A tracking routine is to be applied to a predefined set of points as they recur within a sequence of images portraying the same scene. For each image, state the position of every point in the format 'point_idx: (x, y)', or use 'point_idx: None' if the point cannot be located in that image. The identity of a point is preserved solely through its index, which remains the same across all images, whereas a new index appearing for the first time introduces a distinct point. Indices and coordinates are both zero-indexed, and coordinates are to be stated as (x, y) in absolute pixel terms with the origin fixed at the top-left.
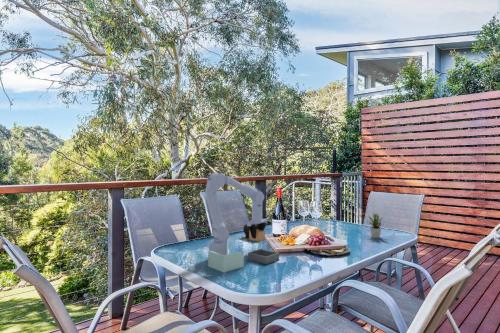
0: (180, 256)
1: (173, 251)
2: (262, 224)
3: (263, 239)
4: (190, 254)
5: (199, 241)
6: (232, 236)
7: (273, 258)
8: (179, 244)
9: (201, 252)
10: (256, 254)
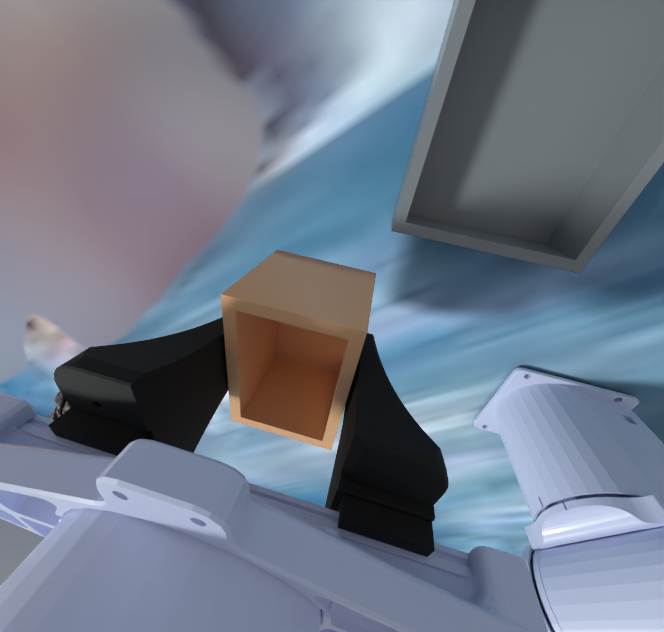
0: None
1: (483, 543)
2: (149, 409)
3: (298, 259)
4: (510, 505)
5: None
6: None
7: None
8: None
9: (462, 484)
10: (654, 154)
